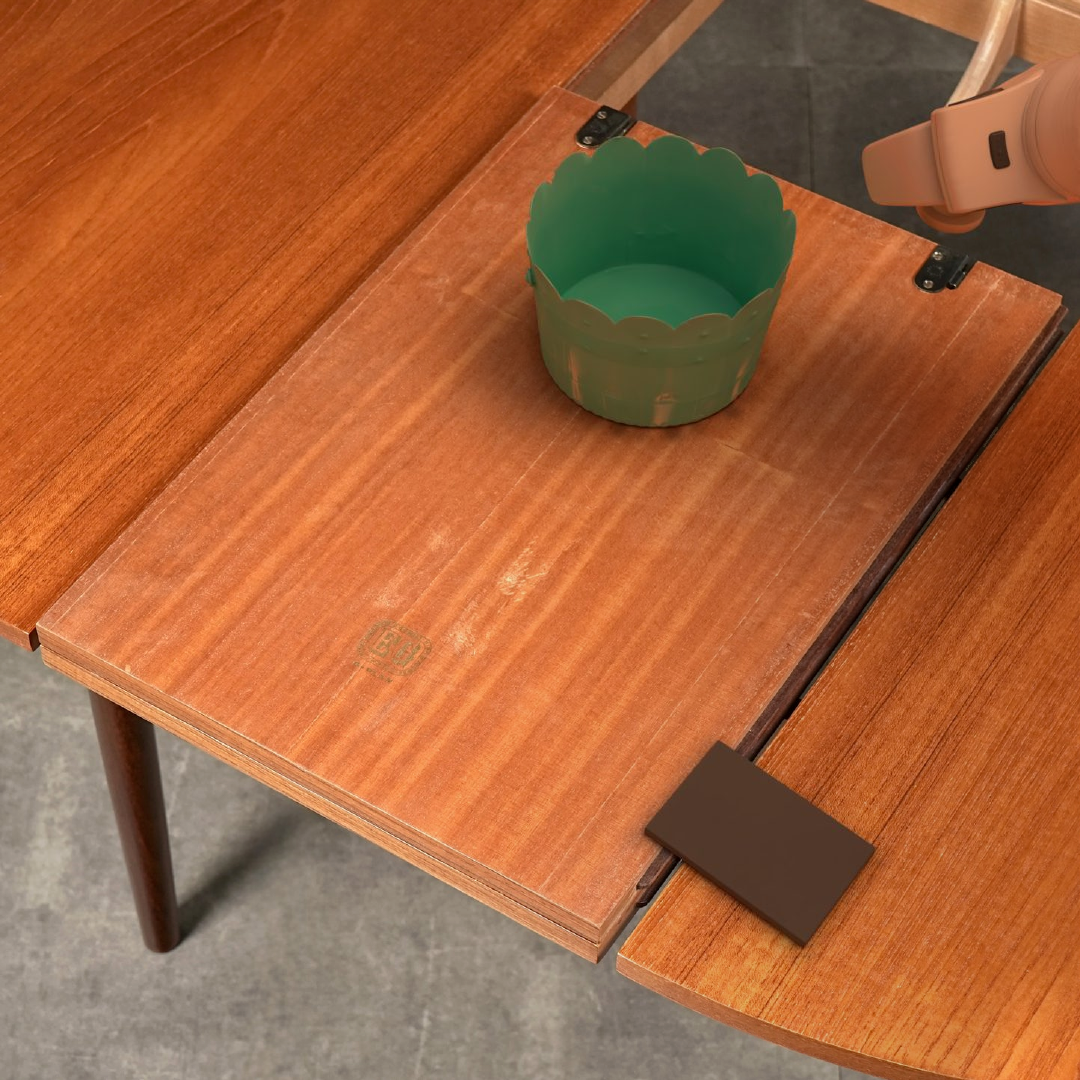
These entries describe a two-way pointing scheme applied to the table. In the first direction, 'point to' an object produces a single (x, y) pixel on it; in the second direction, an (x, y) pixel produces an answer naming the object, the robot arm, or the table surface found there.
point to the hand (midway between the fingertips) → (961, 148)
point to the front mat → (760, 842)
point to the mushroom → (949, 219)
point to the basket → (656, 277)
